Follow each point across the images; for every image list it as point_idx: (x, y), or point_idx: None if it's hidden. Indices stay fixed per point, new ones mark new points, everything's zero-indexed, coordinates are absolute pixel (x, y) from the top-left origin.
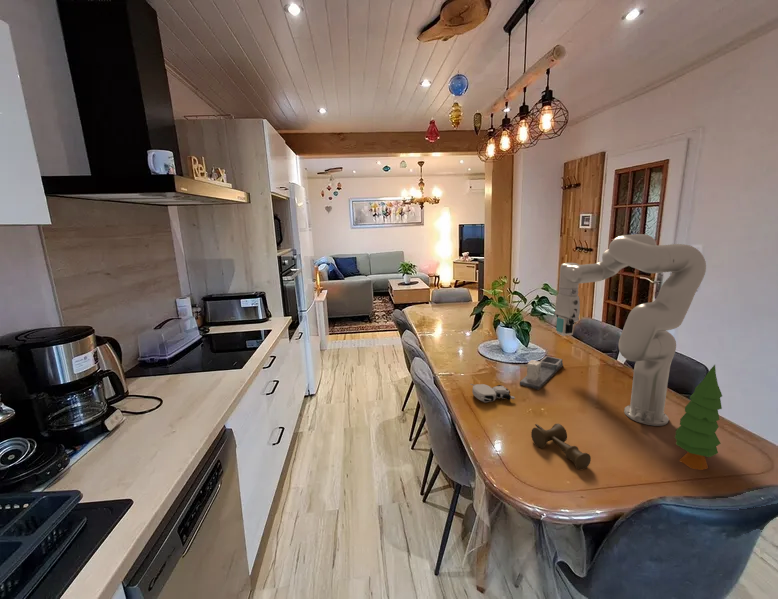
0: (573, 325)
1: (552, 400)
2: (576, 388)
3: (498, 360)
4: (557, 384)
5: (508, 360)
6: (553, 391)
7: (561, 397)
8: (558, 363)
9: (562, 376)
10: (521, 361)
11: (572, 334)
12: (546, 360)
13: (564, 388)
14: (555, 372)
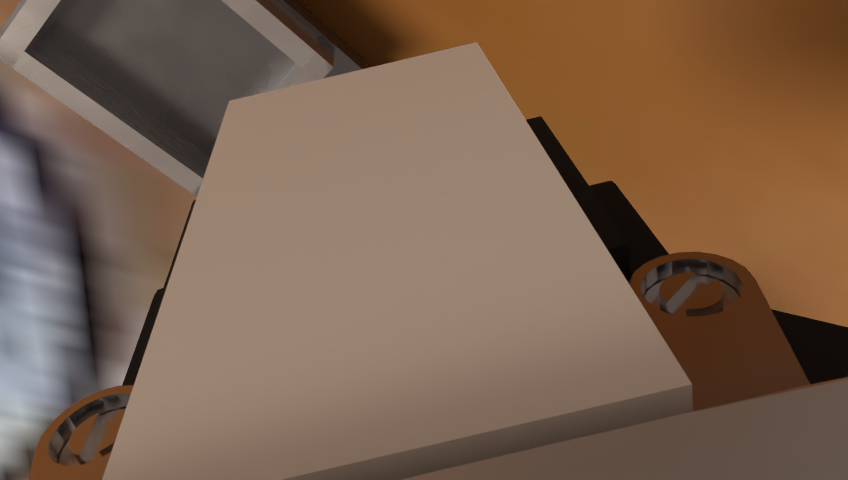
0: (544, 153)
1: (829, 292)
2: (727, 22)
3: (28, 437)
4: (607, 151)
5: (14, 365)
6: (714, 234)
7: (817, 219)
8: (265, 6)
9: (447, 20)
10: (26, 265)
11: (478, 53)
12: (57, 49)
13: (694, 128)
14: (361, 60)
